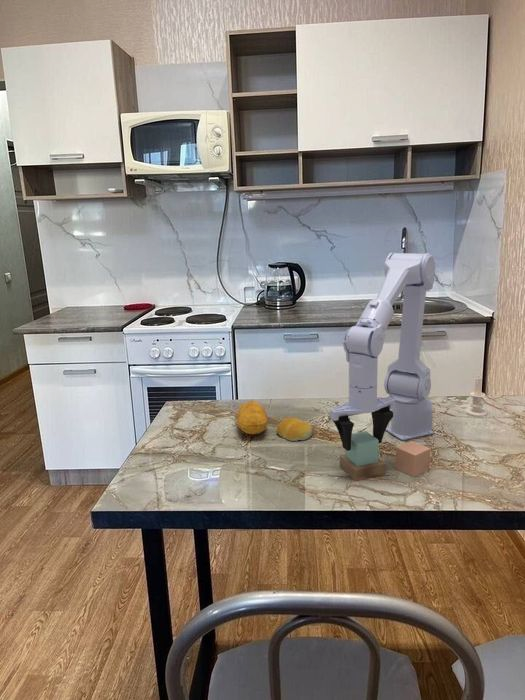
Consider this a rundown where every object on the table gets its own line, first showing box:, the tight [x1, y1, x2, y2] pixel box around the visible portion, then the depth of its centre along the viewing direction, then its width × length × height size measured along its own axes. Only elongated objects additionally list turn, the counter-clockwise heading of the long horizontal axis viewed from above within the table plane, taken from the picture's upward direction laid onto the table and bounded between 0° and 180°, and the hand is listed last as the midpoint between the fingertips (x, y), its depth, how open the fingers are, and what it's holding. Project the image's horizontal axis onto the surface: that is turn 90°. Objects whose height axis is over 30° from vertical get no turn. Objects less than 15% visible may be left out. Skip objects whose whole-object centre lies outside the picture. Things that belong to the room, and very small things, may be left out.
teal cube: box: [345, 430, 380, 466], centre depth 111 cm, size 5×5×5 cm
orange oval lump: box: [236, 400, 268, 435], centre depth 133 cm, size 8×14×7 cm, turn 7°
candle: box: [465, 377, 488, 418], centre depth 138 cm, size 5×5×10 cm
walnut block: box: [339, 453, 386, 482], centre depth 112 cm, size 7×7×3 cm
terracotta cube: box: [394, 440, 432, 478], centre depth 111 cm, size 5×5×5 cm
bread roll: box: [276, 417, 314, 442], centre depth 131 cm, size 8×9×4 cm
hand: (362, 445), depth 111 cm, fingers open, 7 cm apart
